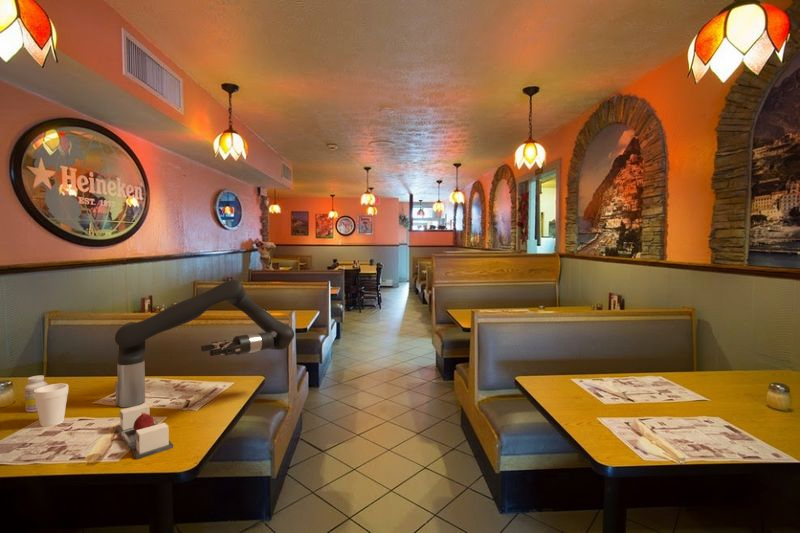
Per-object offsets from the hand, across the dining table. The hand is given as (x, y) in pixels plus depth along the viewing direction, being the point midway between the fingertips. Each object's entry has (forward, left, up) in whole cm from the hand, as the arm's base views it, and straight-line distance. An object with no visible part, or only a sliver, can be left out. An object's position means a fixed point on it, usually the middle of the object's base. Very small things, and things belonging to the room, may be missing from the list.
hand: (205, 350), depth 147 cm
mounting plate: (-11, -17, -26) cm, 33 cm away
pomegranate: (-11, -17, -25) cm, 32 cm away
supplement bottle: (-70, -4, -26) cm, 75 cm away
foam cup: (-52, -13, -26) cm, 60 cm away
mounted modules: (-11, -18, -25) cm, 32 cm away
